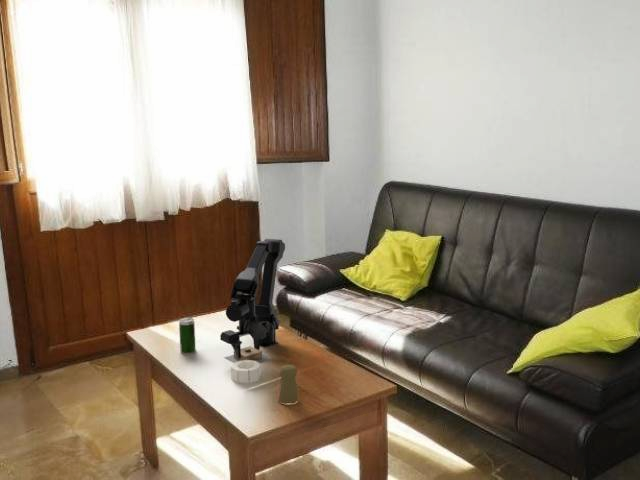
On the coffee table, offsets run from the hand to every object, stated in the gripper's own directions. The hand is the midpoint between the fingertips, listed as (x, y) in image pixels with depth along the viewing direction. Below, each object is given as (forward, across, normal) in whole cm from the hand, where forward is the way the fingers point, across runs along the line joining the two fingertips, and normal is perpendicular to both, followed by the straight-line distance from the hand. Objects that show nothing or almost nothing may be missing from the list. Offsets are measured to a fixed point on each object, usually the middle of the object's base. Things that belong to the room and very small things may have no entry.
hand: (247, 355), depth 230 cm
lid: (+1, 0, 0) cm, 1 cm away
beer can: (+2, -12, +20) cm, 23 cm away
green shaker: (+2, -10, -35) cm, 36 cm away
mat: (+1, 0, 0) cm, 1 cm away
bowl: (+1, -10, -13) cm, 16 cm away
